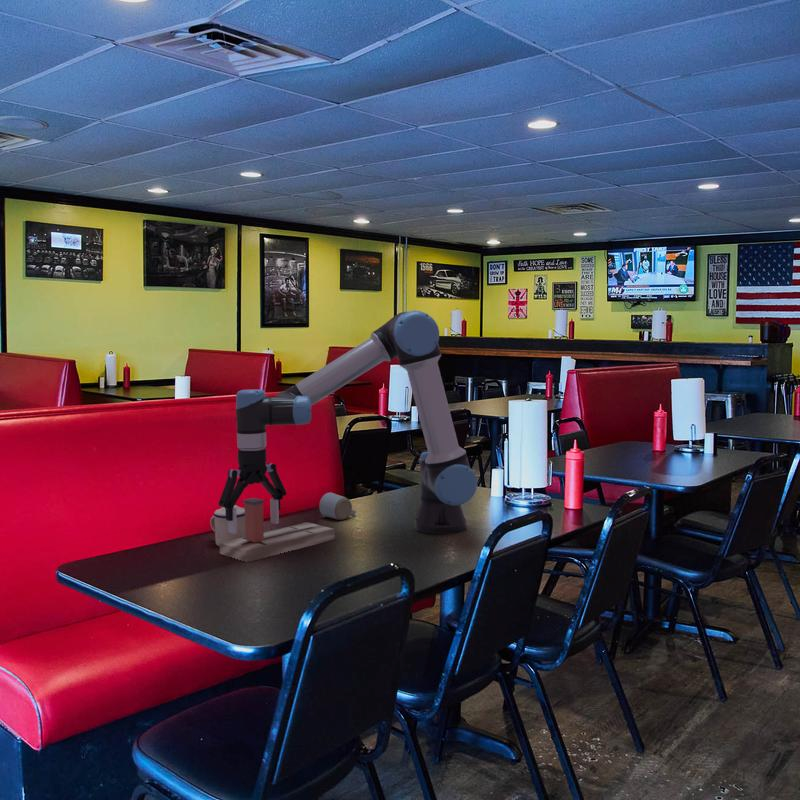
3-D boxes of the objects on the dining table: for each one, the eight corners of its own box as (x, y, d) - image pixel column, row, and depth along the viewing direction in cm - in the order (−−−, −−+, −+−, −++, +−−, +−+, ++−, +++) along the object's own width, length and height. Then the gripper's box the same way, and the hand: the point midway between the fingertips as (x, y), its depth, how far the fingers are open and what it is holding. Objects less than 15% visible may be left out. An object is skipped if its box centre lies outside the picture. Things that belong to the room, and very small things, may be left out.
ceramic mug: (336, 522, 250) (336, 497, 250) (318, 518, 256) (318, 494, 255) (361, 517, 258) (361, 493, 257) (344, 513, 264) (344, 489, 263)
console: (334, 539, 230) (334, 528, 230) (246, 562, 209) (246, 550, 209) (307, 532, 239) (307, 521, 239) (219, 553, 217) (219, 542, 217)
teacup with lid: (254, 541, 229) (253, 500, 228) (232, 549, 222) (230, 506, 221) (223, 536, 236) (221, 496, 235) (200, 543, 228) (198, 502, 227)
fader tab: (264, 540, 218) (263, 500, 217) (254, 542, 215) (253, 502, 214) (255, 537, 221) (253, 497, 220) (244, 539, 218) (243, 499, 217)
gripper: (280, 441, 227) (282, 517, 229) (202, 452, 209) (205, 534, 211) (298, 444, 222) (299, 521, 224) (219, 455, 204) (222, 539, 206)
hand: (254, 527), depth 218 cm, fingers open, 13 cm apart
